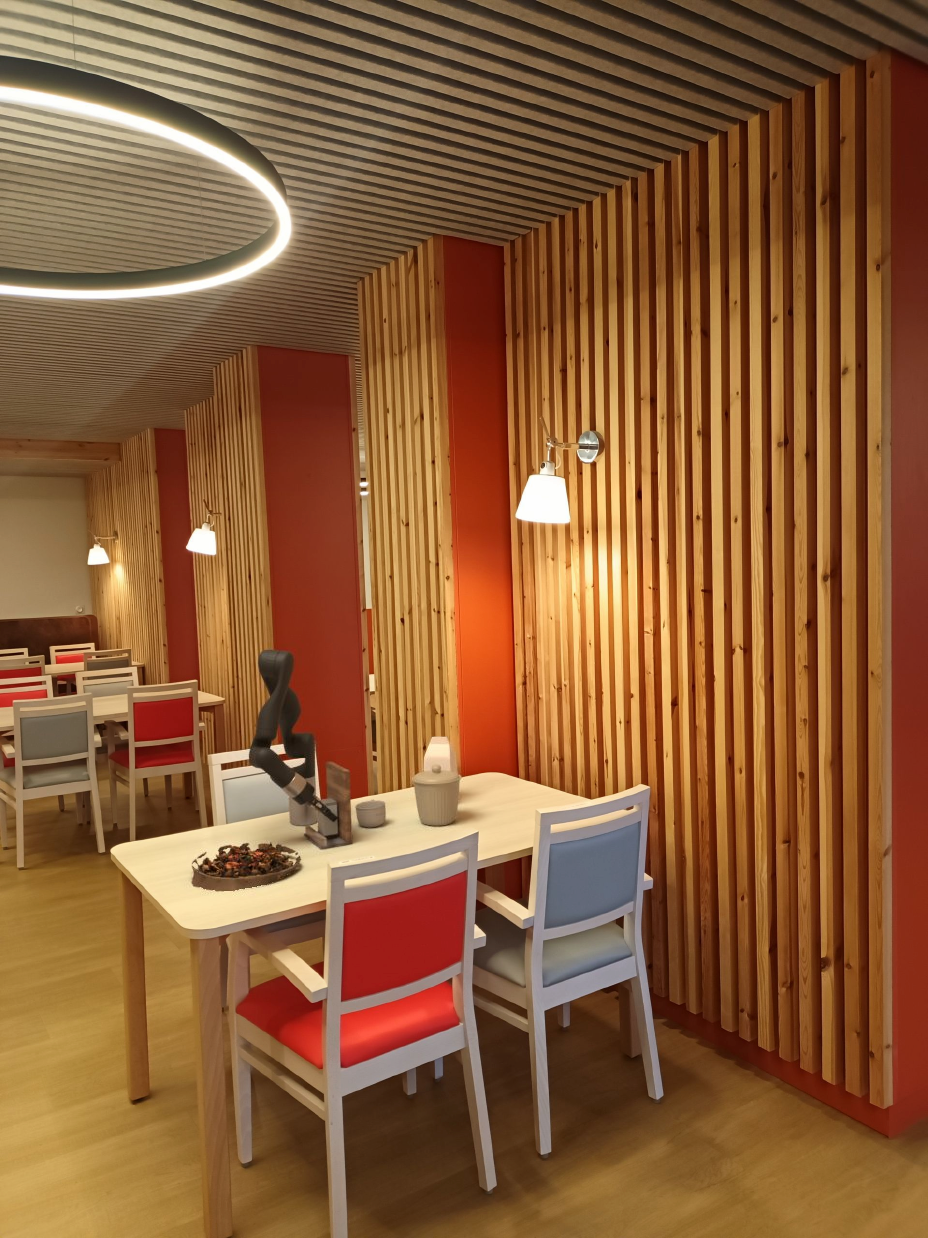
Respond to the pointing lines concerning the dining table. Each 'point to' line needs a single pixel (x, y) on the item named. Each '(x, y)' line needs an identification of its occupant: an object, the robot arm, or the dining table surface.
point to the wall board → (341, 794)
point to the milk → (440, 755)
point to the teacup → (371, 813)
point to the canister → (437, 795)
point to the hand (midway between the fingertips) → (332, 817)
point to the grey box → (324, 822)
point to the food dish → (243, 867)
